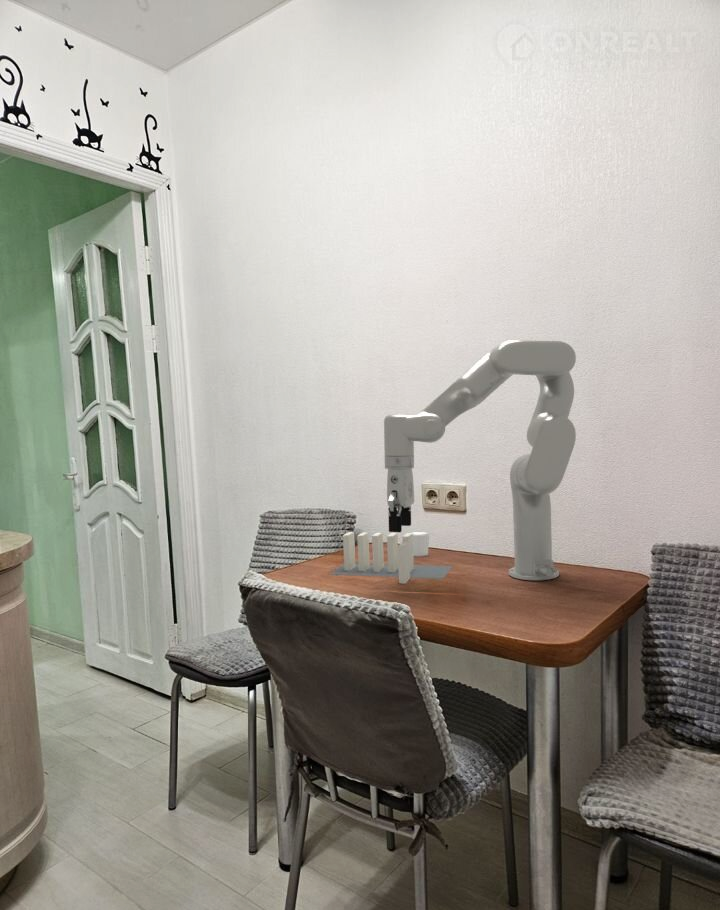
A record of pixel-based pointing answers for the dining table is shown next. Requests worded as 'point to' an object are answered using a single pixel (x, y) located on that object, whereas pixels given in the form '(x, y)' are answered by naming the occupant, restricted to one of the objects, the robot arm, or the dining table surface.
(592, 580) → the dining table surface
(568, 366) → the robot arm
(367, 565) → the domino
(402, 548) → the domino
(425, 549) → the white cup
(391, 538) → the domino
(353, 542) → the domino
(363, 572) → the mat
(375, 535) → the domino
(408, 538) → the domino
